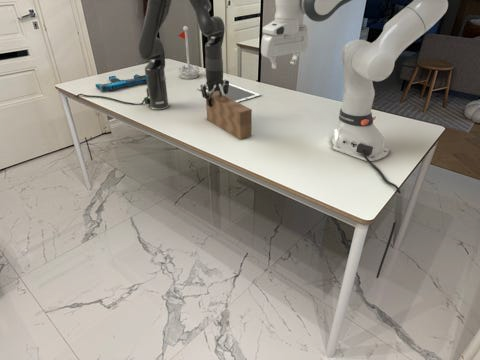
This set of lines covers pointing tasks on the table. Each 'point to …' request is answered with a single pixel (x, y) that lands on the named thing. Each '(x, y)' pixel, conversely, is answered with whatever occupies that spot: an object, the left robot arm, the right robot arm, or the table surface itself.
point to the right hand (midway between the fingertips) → (283, 66)
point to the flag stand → (187, 71)
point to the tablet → (238, 93)
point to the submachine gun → (121, 82)
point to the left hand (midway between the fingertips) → (215, 104)
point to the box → (230, 116)
